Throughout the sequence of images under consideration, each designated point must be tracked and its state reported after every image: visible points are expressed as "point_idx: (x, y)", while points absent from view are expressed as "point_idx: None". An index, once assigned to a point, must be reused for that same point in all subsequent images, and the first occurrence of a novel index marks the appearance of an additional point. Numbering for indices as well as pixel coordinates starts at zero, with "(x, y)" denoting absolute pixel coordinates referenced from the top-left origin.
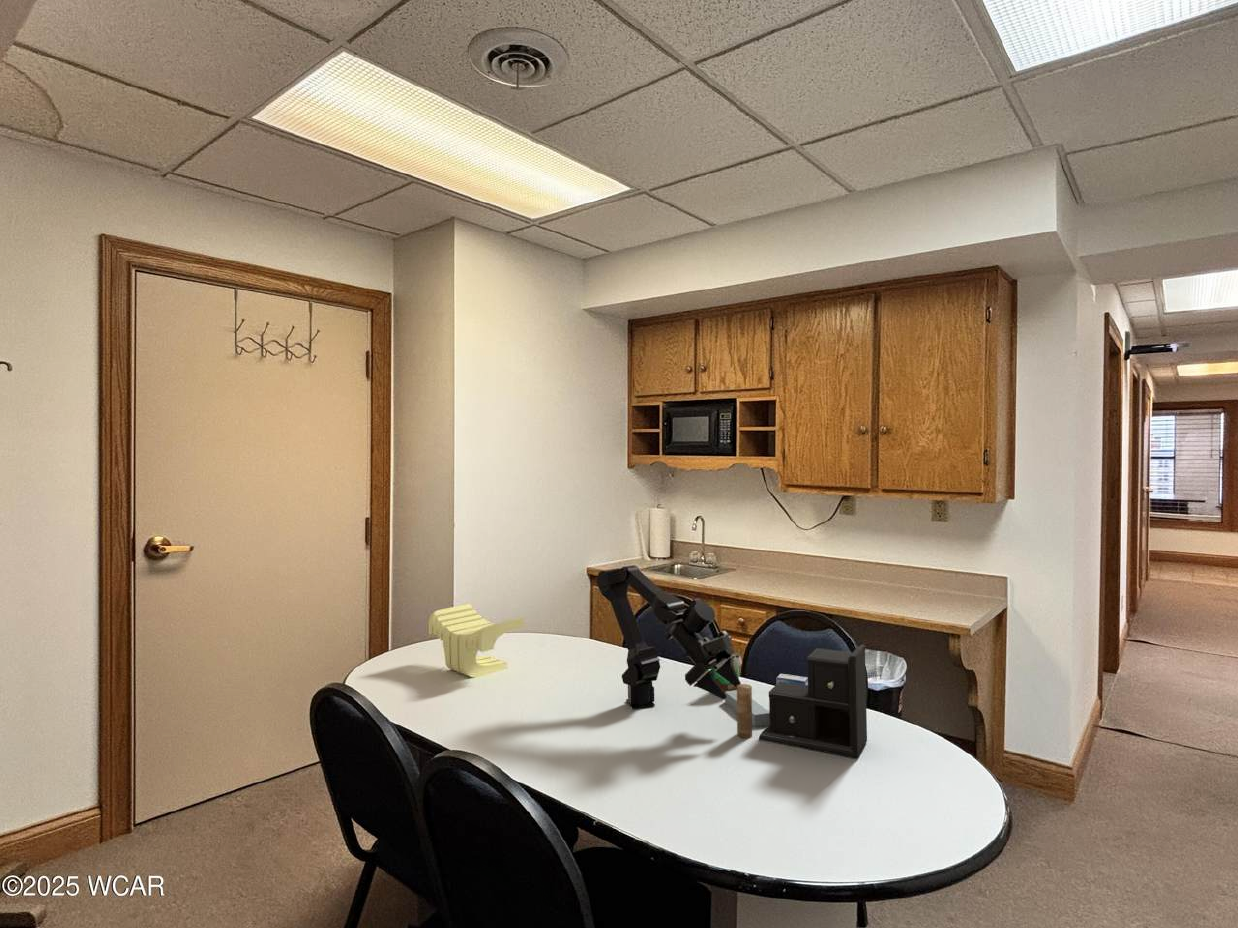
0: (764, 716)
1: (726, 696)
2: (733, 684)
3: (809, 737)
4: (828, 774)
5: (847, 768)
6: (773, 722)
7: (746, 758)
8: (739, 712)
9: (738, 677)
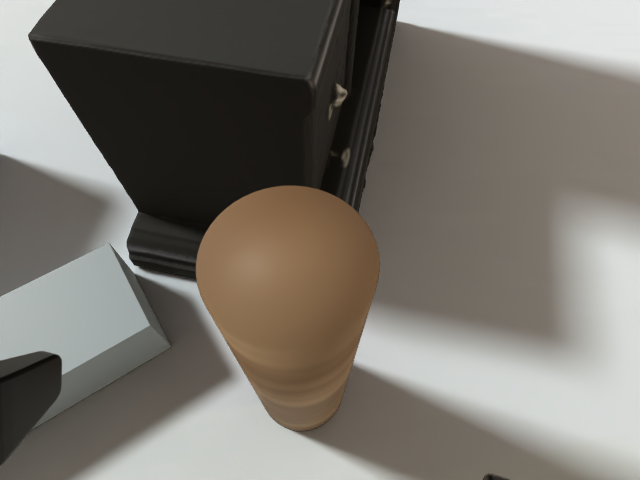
0: (130, 281)
1: (493, 475)
2: (1, 460)
3: (346, 100)
4: (543, 77)
5: (472, 40)
6: None
7: (580, 337)
8: (345, 378)
9: None
